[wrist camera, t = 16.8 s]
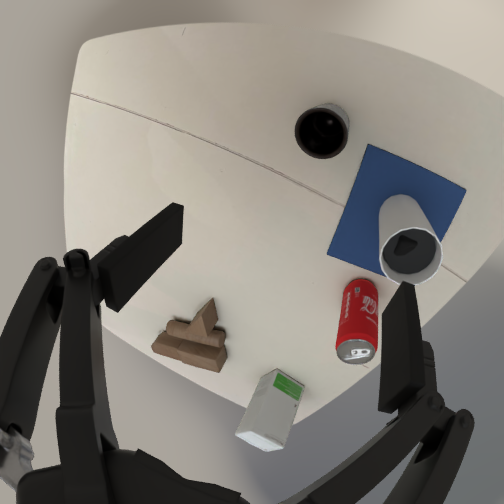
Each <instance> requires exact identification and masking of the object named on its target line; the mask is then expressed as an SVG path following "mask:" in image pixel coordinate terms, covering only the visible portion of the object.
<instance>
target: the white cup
mask: <svg viewBox="0 0 504 504" xmlns="http://www.w3.org/2000/svg"><path fill="white" fill-rule="evenodd" d="M442 259H443V251H442V245H441V243H440V241H439V239H438V237H437V236H436V234H435V232H434V230H433V228H432V227H431V225H430V223H429V221H428V219H427V218H426V216H425V214H424V213H423V211H422V209H421V208H420V206H419V204H418V203H417V201H416V200H415V199H413V198H411V197H410V196H408V195H402V194H399V195H394V196H391V197H390V198H388V199H387V200H386V201H384V203H383V205H382V206H381V208H380V212H379V260H380V265H381V270H382V271H383V273H384V274H385V275H386V277H387V278H388V279H389V280H391V281H393V282H395V283H396V284H398V285H400V284H401V283H402V281H406V282H408V283H411V284H414V285H418V284H422V283H424V282H425V281H427V280H429V279H430V278H432V277H433V276H434V274H435V273H436V272H437V271H438V270H439V268H440V265H441V262H442Z"/></svg>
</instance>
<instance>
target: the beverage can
mask: <svg viewBox="0 0 504 504" xmlns="http://www.w3.org/2000/svg"><path fill="white" fill-rule="evenodd" d="M377 347H378V292H377V289H376V288H375V287H374V285H373V284H372V283H371V282H370V281H368V280H366V279H356V280H354V281H352V282H350V283H349V285H348V286H347V287H346V288H345V290H344V293H343V300H342V307H341V314H340V321H339V327H338V334H337V340H336V351H337V356H338V358H339V359H340V360H342V361H343V362H345V363H347V364H352V365H361V364H365V363H367V362H369V361H371V360H372V359H373V357H374V356H375V353H376V351H377Z"/></svg>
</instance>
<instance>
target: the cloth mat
mask: <svg viewBox="0 0 504 504" xmlns="http://www.w3.org/2000/svg"><path fill="white" fill-rule="evenodd" d="M465 193H466V190H465V189H464V188H462V187H460V186H458V185H456V184H454V183H453V182H451V181H449V180H447V179H445V178H443V177H441V176H439V175H437V174H435V173H433V172H431V171H429V170H427V169H425V168H423V167H421V166H418V165H416V164H414V163H412V162H410V161H407V160H405V159H403V158H401V157H398V156H396V155H394V154H391V153H389V152H387V151H384V150H382V149H379V148H377V147H374V146H372V145H369V144H368V146H367V149H366V152H365V154H364V157H363V160H362V163H361V166H360V169H359V172H358V174H357V177H356V180H355V183H354V185H353V188H352V191H351V193H350V196H349V199H348V201H347V204H346V207H345V209H344V212H343V214H342V217H341V219H340V222H339V225H338V227H337V230H336V232H335V235H334V237H333V239H332V242H331V244H330V247H329V249H328V252H327V255H330V256H332V257H335V258H338V259H340V260H343V261H346V262H348V263H351V264H353V265H356V266H359V267H361V268H364V269H367V270H369V271H372V272H374V273H377V274H380V275H382V276H385V277H386V275H385V274H384V273H383V271H382V270H381V265H380V260H379V212H380V208H381V206H382V205H383V203H384V201H386V200H387V199H388V198H390V197H391V196H394V195H399V194H402V195H408V196H410V197H411V198H413V199H415V200H416V201H417V203H418V204H419V206H420V208H421V209H422V211H423V213H424V214H425V216H426V218H427V219H428V221H429V223H430V225H431V227H432V228H433V230H434V232H435V234H436V236H437V237H438V239H439V241H440V243H441V241H442V239H443V237H444V235H445V233H446V232H447V230H448V228H449V226H450V224H451V222H452V220H453V218H454V216H455V214H456V212H457V210H458V208H459V206H460V204H461V202H462V200H463V197H464V195H465ZM414 286H415V285H414Z"/></svg>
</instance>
